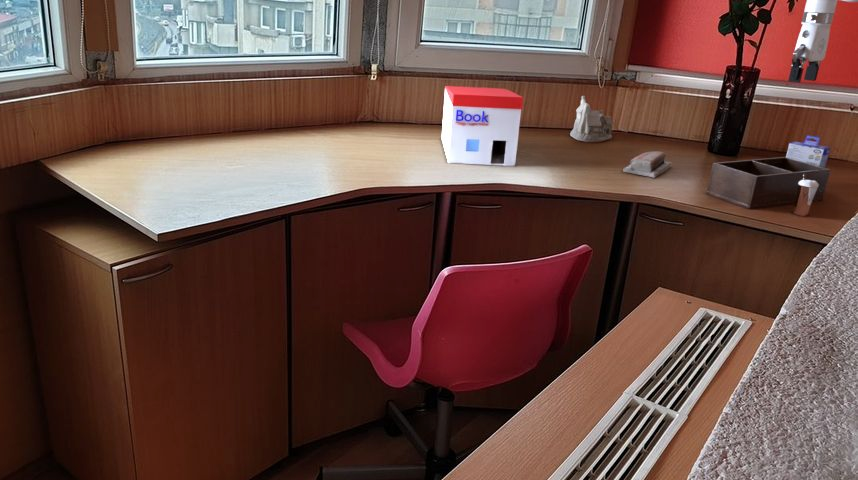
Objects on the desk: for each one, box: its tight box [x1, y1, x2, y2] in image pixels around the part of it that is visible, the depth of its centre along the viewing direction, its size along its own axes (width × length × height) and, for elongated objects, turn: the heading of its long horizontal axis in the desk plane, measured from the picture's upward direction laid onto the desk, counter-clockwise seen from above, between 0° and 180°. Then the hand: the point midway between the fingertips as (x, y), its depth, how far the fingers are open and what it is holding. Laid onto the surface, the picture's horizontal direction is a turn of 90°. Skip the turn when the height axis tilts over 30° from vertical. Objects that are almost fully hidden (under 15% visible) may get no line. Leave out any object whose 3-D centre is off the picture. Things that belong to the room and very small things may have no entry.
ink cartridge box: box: [785, 135, 831, 168], centre depth 211 cm, size 10×6×14 cm, turn 43°
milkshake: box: [792, 174, 819, 217], centre depth 184 cm, size 4×5×10 cm
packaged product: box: [622, 150, 672, 178], centre depth 222 cm, size 18×5×10 cm
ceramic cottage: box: [569, 95, 613, 143], centre depth 263 cm, size 16×16×15 cm
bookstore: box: [441, 85, 524, 167], centre depth 232 cm, size 21×35×21 cm, turn 0°
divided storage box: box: [706, 156, 832, 210], centre depth 198 cm, size 15×28×9 cm, turn 114°
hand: (801, 81), depth 210 cm, fingers open, 9 cm apart
